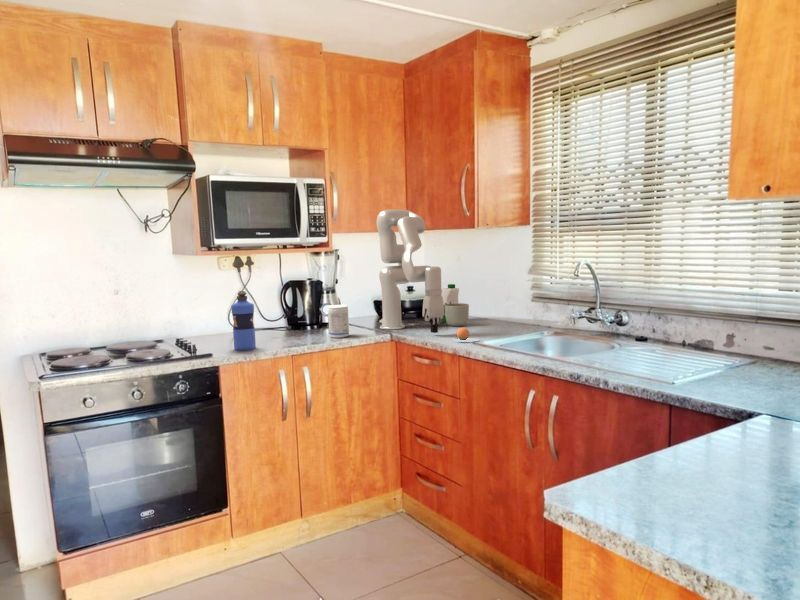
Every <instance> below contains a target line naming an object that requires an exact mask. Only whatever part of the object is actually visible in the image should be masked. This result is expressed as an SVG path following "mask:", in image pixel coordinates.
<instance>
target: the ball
mask: <svg viewBox="0 0 800 600" xmlns="http://www.w3.org/2000/svg"><path fill="white" fill-rule="evenodd" d="M456 336H457V338H459V339H460V340H466V339H467V338H470V331H469V330H468V328H466V327H460V328H458V329H457V332H456Z"/></svg>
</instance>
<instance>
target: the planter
mask: <svg viewBox="0 0 800 600" xmlns="http://www.w3.org/2000/svg"><path fill="white" fill-rule="evenodd" d="M469 311H470V305H469V303H463V302H462V303H459V302H458V303H453V304H446V305H445V316H446V322H445V323H446V324H448V325H449V326H451V327H464V326H465V325H467V324H468V321H469ZM463 325H464V326H463Z"/></svg>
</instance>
